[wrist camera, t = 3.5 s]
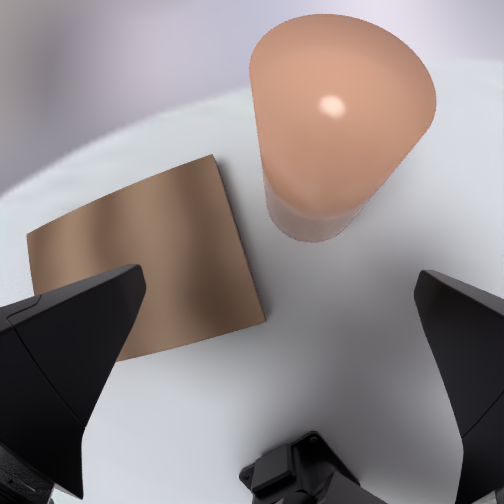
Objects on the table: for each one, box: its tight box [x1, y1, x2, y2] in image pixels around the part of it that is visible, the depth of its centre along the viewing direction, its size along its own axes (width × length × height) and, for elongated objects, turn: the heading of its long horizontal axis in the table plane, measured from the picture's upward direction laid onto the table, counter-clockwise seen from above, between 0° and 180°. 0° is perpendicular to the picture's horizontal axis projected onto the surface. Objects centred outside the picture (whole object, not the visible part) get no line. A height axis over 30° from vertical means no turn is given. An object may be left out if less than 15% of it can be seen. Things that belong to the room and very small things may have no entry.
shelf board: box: [27, 154, 266, 362], centre depth 20 cm, size 16×11×2 cm
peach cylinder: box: [249, 14, 436, 243], centre depth 15 cm, size 6×6×13 cm
